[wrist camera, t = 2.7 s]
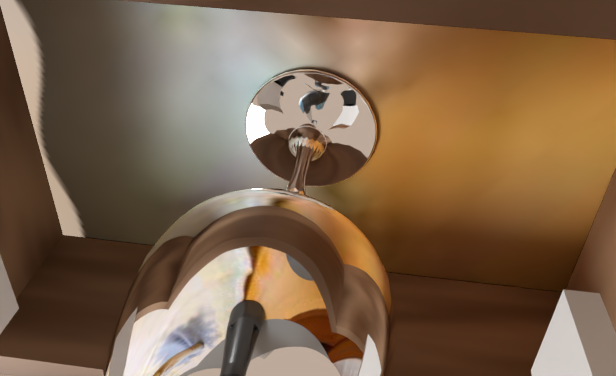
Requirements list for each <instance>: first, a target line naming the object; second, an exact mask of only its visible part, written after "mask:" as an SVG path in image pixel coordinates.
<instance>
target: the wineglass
mask: <svg viewBox="0 0 616 376" xmlns="http://www.w3.org/2000/svg"><path fill="white" fill-rule="evenodd" d="M245 130H246V136H247V140H248V143H249V146H250V148H251V150H252V152H253V153H254V155H255V156H256V158H257V159H258V160H259V161H260V163H261V164H262V165H263V166H264V167H265V168H266V169H268V170H269V171H270V172H271V173H273V174H274V175H276V176H278V177H279V178H281V179H283V180H286V181H288V182H289V184H288V186H287V187H286V189H285V190H282V189H269V188H250V189H244V190H238V191H232V192H228V193H225V194H222V195H219V196H215V197H213V198H210V199H208V200H206V201H204V202H202V203H200V204H198V205H196V206H195V207H193V208H192V209H190V210H189V211H188V212H186V213H185V214H184V215H182V216H181V217H180V218H178V219H177V220H176V221H175V222H174V223H173V224H172V225H171V227H170V228H169V229H168V230H167V231H166V232H165V233H164V234H163V235H162V236H161V237H160V239H159V240H158V241H157V243H156V244H155V245H154V247H153V248H152V249H151V250H150V252H149V253H148V254H147V256H146V257H145V259H144V260H143V262H142V264H141V266H140V267H139V269H138V271H137V273H136V275H135V277H134V279H133V281H132V284H131V286H130V288H129V291H128V293H127V295H126V298H125V300H124V302H123V305H122V307H121V310H120V313H119V316H118V319H117V322H116V325H115V328H114V332H113V335H112V338H111V342H110V345H109V348H108V352H107V355H106V360H105V365H104V369H103V374H102V376H393V370H394V362H395V354H396V315H395V310H394V305H393V299H392V294H391V289H390V283H389V278H388V275H387V273H386V270H385V268H384V266H383V264H382V262H381V260H380V258H379V256H378V254H377V252H376V250H375V248H374V247H373V245H372V244H371V242H370V241H369V240H368V238H367V237H366V236H365V235H364V234H363V233H362V232H361V231H360V230H359V229H358V228H357V227H356V226H355V224H354V223H353V222H352V221H350V220H349V219H348V218H346V217H345V216H343V215H342V214H341V213H339V212H338V211H336V210H335V209H334V208H332V207H331V206H329V205H327V204H325V203H323V202H321V201H318V200H316V199H314V198H312V197H309V196H307V195H305V186H311V187H321V186H328V185H333V184H336V183H340V182H342V181H344V180H346V179H348V178H350V177H352V176H353V175H355V174H356V173H357V172H358V171H360V170H361V169H362V168H363V167H364V166H365V164H366V163H367V162H368V160H369V159H370V157H371V155H372V153H373V151H374V148H375V145H376V141H377V122H376V118H375V115H374V113H373V110H372V108H371V106H370V104H369V102H368V101H367V99H366V98H365V97H364V96H363V94H362V93H361V92H360V91H359V90H358V89H357V88H356V87H355V86H353V85H352V84H351V83H349V82H348V81H347V80H345V79H343V78H341V77H339V76H336V75H334V74H332V73H329V72H325V71H320V70H315V69H299V70H294V71H289V72H285V73H282V74H280V75H278V76H276V77H273V78H272V79H270V80H269V81H268V82H266V83H265V84H264V85H262V86H261V87H260V88H259V90H258V91H257V92H256V93H255V94H254V96H253V97H252V99H251V101H250V103H249V105H248V109H247V112H246V118H245Z"/></svg>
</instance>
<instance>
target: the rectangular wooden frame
mask: <svg viewBox="0 0 616 376" xmlns="http://www.w3.org/2000/svg"><path fill="white" fill-rule="evenodd" d="M122 1H135V2H148V3H160V4H173V5H185V6H198V7H211V8H223V9H236V10H249V11H261V12H274V13H286V14H299V15H312V16H324V17H337V18H349V19H362V20H375V21H387V22H400V23H412V24H425V25H438V26H450V27H463V28H476V29H488V30H501V31H513V32H526V33H539V34H551V35H564V36H576V37H589V38H602V39H614V40H616V0H122ZM153 247H154V246H152V245H144V244H135V243H126V242H118V241H109V240H100V239H91V238H83V237H74V236H65V235H63V234H62V230H61V226H60V223H59V219H58V215H57V212H56V208H55V205H54V201H53V197H52V193H51V190H50V186H49V183H48V179H47V175H46V171H45V168H44V164H43V160H42V157H41V153H40V149H39V146H38V142H37V138H36V135H35V131H34V128H33V124H32V120H31V117H30V113H29V110H28V106H27V102H26V98H25V95H24V91H23V87H22V84H21V80H20V77H19V73H18V69H17V65H16V62H15V58H14V55H13V51H12V47H11V43H10V40H9V36H8V33H7V29H6V25H5V22H4V18H3V15H2V11H1V7H0V255H1V258H2V261H3V264H4V267H5V269H6V272H7V275H8V278H9V281H10V284H11V287H12V289H13V292H14V295H15V298H16V301H17V304H18V307H19V309H18V310H17V312H16V313H15V315H14V316H13V317H12V319H11V320H10V322H9V323H8V324H7V326H6V327H5V328H4V330H3V331H2V333H1V334H0V374H4V375H11V376H102V374H103V369H104V365H105V360H106V355H107V352H108V348H109V345H110V342H111V338H112V335H113V332H114V328H115V325H116V322H117V319H118V316H119V313H120V310H121V307H122V305H123V302H124V300H125V298H126V295H127V293H128V291H129V288H130V286H131V284H132V281H133V279H134V277H135V275H136V273H137V271H138V269H139V267H140V266H141V264H142V262H143V260H144V259H145V257H146V256H147V254H148V253H149V252H150V250H151V249H152V248H153ZM386 273H387V275H388V278H389V283H390V289H391V294H392V299H393V305H394V310H395V315H396V354H395V362H394V370H393V376H532V374H531V369H532V366H533V364H534V361H535V359H536V356H537V354H538V351H539V349H540V346H541V344H542V341H543V339H544V336H545V334H546V331H547V329H548V326H549V324H550V321H551V319H552V316H553V314H554V311H555V309H556V306H557V304H558V301H559V299H560V296H561V294H562V292H553V291H544V290H536V289H527V288H518V287H510V286H501V285H492V284H483V283H475V282H466V281H457V280H449V279H440V278H431V277H422V276H414V275H405V274H396V273H388V272H386ZM566 290H574V291H583V292H592V293H600V295H601V298H602V300H603V303H604V305H605V308H606V310H607V313H608V315H609V317H610V320H611V322H612V325H613V327H614V330H615V332H616V169H615V172H614V174H613V176H612V179H611V181H610V184H609V186H608V188H607V191H606V193H605V196H604V198H603V200H602V203H601V205H600V208H599V210H598V213H597V215H596V217H595V220H594V222H593V225H592V227H591V229H590V232H589V234H588V237H587V239H586V241H585V244H584V246H583V249H582V251H581V254H580V256H579V258H578V261H577V263H576V266H575V268H574V270H573V273H572V275H571V278H570V280H569V283H568V285H567V287H566Z"/></svg>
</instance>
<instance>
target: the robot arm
mask: <svg viewBox="0 0 616 376" xmlns="http://www.w3.org/2000/svg"><path fill="white" fill-rule="evenodd" d="M18 309H19V307H18V304H17V301H16V298H15V295H14V292H13V289H12V287H11V284H10V281H9V278H8V275H7V272H6V269H5V267H4V264H3V261H2V258H1V255H0V334H1V333H2V331H3V330H4V328H5V327H6V326H7V324H8V323H9V322H10V320H11V319H12V317H13V316H14V315H15V313H16V312H17V310H18ZM531 374H532V376H616V332H615V330H614V327H613V325H612V322H611V320H610V317H609V315H608V313H607V310H606V308H605V305H604V303H603V300H602V298H601V295H600V293H592V292H583V291H574V290H565V289H563V291H562V294H561V296H560V299H559V301H558V304H557V306H556V309H555V311H554V314H553V316H552V319H551V321H550V324H549V326H548V329H547V331H546V334H545V336H544V339H543V341H542V344H541V346H540V349H539V351H538V354H537V356H536V359H535V361H534V364H533V366H532V369H531Z"/></svg>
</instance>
